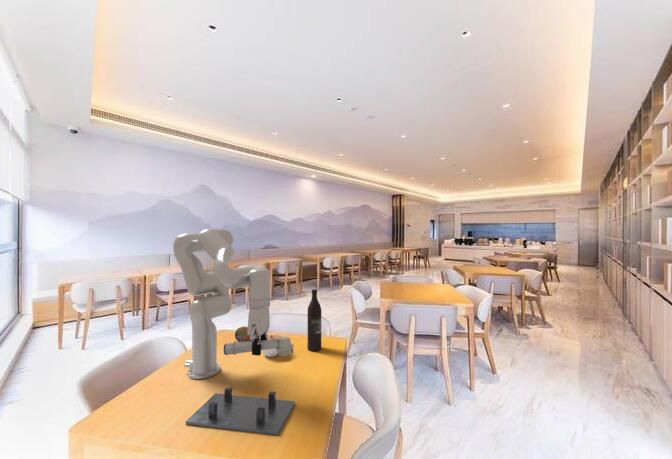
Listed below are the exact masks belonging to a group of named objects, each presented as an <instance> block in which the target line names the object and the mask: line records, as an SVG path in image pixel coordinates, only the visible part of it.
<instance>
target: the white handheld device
mask: <svg viewBox="0 0 672 459" xmlns="http://www.w3.org/2000/svg"><path fill="white" fill-rule="evenodd" d="M260 344H261V350H266V349H273V348H276V350H277V351H278V355H277V356H279V357H280V356H282V357H286V356H288V355H290V356H291V355H292V354H294V347H295V344H293V343H292V342H291V338H290V337H289V336H282V338H279V339H273V340H260ZM249 352H251V353H252V344H251V341H246V342H238V341H237V340H234V342H226V343H225V344H223V355H225V356H229V355H234V356H236V355H237V354H244V353H249Z"/></svg>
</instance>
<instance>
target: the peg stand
mask: <svg viewBox="0 0 672 459" xmlns="http://www.w3.org/2000/svg"><path fill="white" fill-rule="evenodd" d="M295 405H296V401H295V400H286V399H277V392H276V391H269V393H268V394H267V398H266V397H256V396H246V395H234V394H233V387H225V389H224V392H223V393H214V394H213V395H212V396H211V397H210V398H209V399H208V400H207V401H205V403H203V405H201V406H200V407H199V408H198V409H197V410H196V411H195V412H194V413H193V414H192V415H191V416H189V418H187V419H186V420H185V425H186V426H187V425H188V426H195V427H202V428H211V429H220V430H226V431H228V430H229V431H238V432H246V433H251V434H252V433H254V434H262V435H269V436H270V435H271V436H277V437H278V436H280V433H281V432H282V430H283V428H284V426H285V424H286V422H287V420H288V419H289V417H290V415H291V413H292V410H293V409H294V407H295Z"/></svg>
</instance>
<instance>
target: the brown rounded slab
mask: <svg viewBox="0 0 672 459" xmlns="http://www.w3.org/2000/svg"><path fill="white" fill-rule="evenodd" d="M255 335H258V333H256V334H255ZM234 338H235V341H236V342H246V341H251V340H250V336H248V326H240V327H238V328H237V329H236V330H235V332H234ZM255 338H257V340H258V337H255Z"/></svg>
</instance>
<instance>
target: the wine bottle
mask: <svg viewBox="0 0 672 459" xmlns="http://www.w3.org/2000/svg"><path fill="white" fill-rule="evenodd" d="M321 349H322V306H321V304H320V301H319V300H318V289H315V288H313V289H312V290H311V301H310V302H309V304H308V306H307V350H308V351H310V352H319V351H321Z"/></svg>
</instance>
